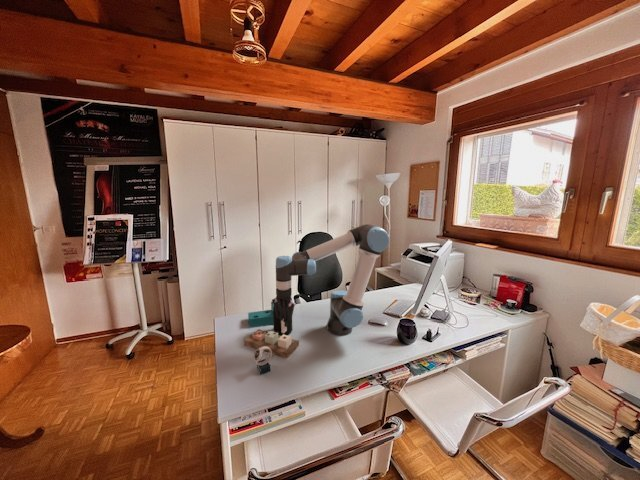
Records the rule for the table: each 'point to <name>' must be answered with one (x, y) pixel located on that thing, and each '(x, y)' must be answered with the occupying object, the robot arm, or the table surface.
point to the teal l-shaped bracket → (261, 317)
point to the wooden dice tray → (272, 346)
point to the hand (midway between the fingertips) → (284, 331)
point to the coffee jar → (278, 327)
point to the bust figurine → (262, 364)
